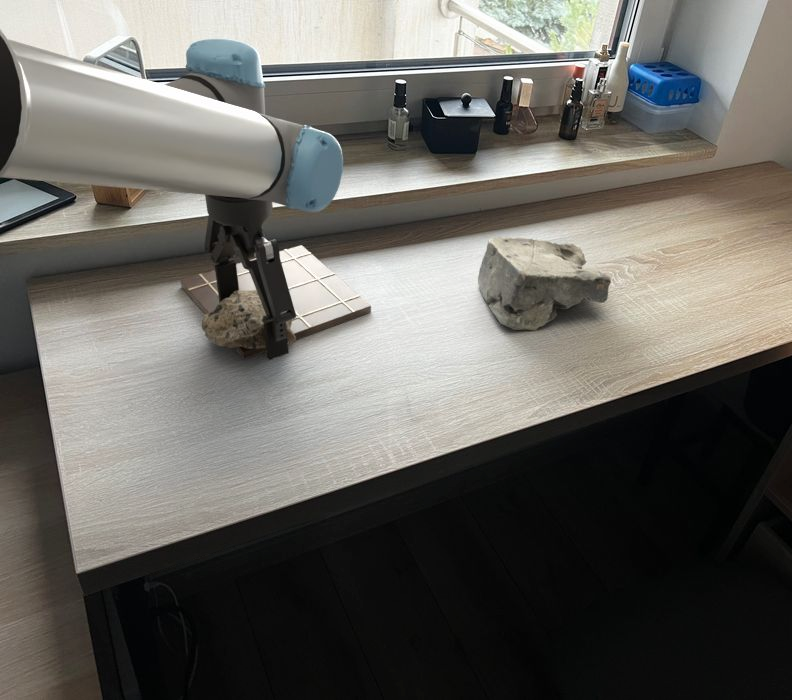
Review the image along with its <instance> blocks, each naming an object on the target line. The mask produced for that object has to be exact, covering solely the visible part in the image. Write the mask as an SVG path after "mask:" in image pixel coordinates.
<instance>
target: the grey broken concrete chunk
mask: <svg viewBox="0 0 792 700" xmlns="http://www.w3.org/2000/svg"><path fill="white" fill-rule="evenodd" d="M586 264H587V261H586V257H585V254H584V253H583V249H582V248H581V247H579V246H577V245H576V244H573V243H556V242H551V241H548V240H540V239H536V238H535V239H534V238H530V237H510V236H509V237H492V238H490V239H488V240H487V245H486V250H485V253H484V255H483V258H482V261H481V264H480V267H479V270H478V271H479V272H478V277H477V284H478V287H479V290H480V294H481V295H482V297H483V299H484V300H485V303H488V304H489V305H488V307H489V309H490V310H491V312H492V314H493V315H494V316H495V317H496V319H497V320H498V322H499V324H500V325H503V326H505V327H507V328H510V329H511V330H515V331H517V330H518V331H520V330H527V331H537V329H539V328H540V327H541V328H542V327H544V326H546V324H547V323H550V322H551V321H553V320H554V319H555V318H556V317H557V316H558V313H557V309H561V310H567V309H570V308H571V307H573V306H575V305H578V304H580V303H581V302H582V300H583V299H586V300H588V301H590V302H595V303H597V304H604V303H606V302H607V300H608V297H609V288H610V285H611V284H612V279H611V277H610V275H608V274H606V273H602V272H601V271H599V270H591V269H583V267H584V266H585V265H586Z"/></svg>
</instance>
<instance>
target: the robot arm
mask: <svg viewBox="0 0 792 700" xmlns="http://www.w3.org/2000/svg"><path fill="white" fill-rule="evenodd" d="M185 58H186V59H185V61H186V65H185V66H184V67H185V70H186V71H187V74H184V75H182V76H179V78H177V79H176V80H172V81H171V82H167V83H165V84H163V83H158V82H155V81H151V80H149V79H146V78H145V79H144V78H142V77H138V76H135V75H132V74H128V73H124V72H121V71H118V70H115V69H110V68H107V67H104V66H101V65H97V64H94V63H90V62H87V61H83V60H80V59H77V58H73V57H70V56H68V55H63V54H60V53H56V52H54V51H49V50H46V49H43V48H41V47H35V46H34V45H30V44H26V43H23V42H20V41H16V40H12V39H10V38H7V36H6V35H5V33H4V32H3V30H1V29H0V178H5V179H17V180H18V179H19V180H27V181H39V182H40V181H41V182H50V183H51V182H52V183H65V184H74V185H75V184H76V185H87V186H97V187H98V186H99V187H109V188H110V187H111V188H121V189H122V188H123V189H135V190H145V191H146V190H147V191H155V192H168V193H169V192H170V193H179V194H180V193H181V194H183V193H184V194H194V195H204V196H205V197H204V199H205V204H206V212H207V214H208V216H207V225H206V233H205V237H204V239H205V240H204V251H205V252H206V253H207V254H210V253H211V254H210V259H211V261H212V263H213V264H215V265H214V270H215V274H216V281H217V288H218V295H219V303H220V302H221V301H222V300H224V299H225V298H229V297H230V295H232V293H233V292H234V291H237V290H239V285H238V276H237V268H236V264H237V262H236V261H235V260H234V258H237V257H239V260H240V263H242V265H243V267H244V268H245V269H247V270H249V272H250V275H251V277H252V280H253V282H254V285H255V288H256V290H257V293H258V295H259V298H260V300H261V303H262V306H263V308H264V311H265V313H266V315H265V316H263V319H262V321H263V323H264V333H265V344H266V351H265V354H266V358H267V359H268V361H271V360H274V359H278V358H279V357H282V356H286V355H287V354H289V343H288V338H287V324H286V321H289V320H292V319H295V318H296V313H295V310H294V306H293V302H292V299H291V295H290V292H289V288H288V285H287V281H286V278H285V274H284V271H283V267H282V263H281V260H280V253H279V252H280V246H279V243H278V241H277V240H276V239H270V240H267V234H266V232H265V230H264V228H263V225H264V223H265V222H266V221H267V220H268V219H269V218H270V217H271V215H272V213H273V211H274V208H273V207H274V206H273V203H274V204H278V205H282V206H284V207H286V208H287V209H290V210H295V209H296V210H299V211H304V212H308V213H318V212H321V211H322V210H324V209H325V208H327V207H329V205H330V204H331V203H332V201H333V200H334V198H335V197H336V195H337V192H338V191H339V188H340V185H341V181H342V177H343V170H344V156H343V150H342V146H341V145H340V143H339V141H338V140H337V138H336V137H335V136H333V135H332V134H331V133H329V132H326V131H323V130H319V129H317V128H314V127H312V126H311V125H307V124H300V123H295V122H293V121H288V120H285V119H281V118H277V117H274V116H271V115H268V114H266V102H265V101H266V100H265V89H266V84H265V82H264V77H263V70H262V69H263V68H262V62H261V57H260V54H259V52H258V50H257V49H256V48H255V47H253V46H252V45H250V44H248V43H246V42H244V41H240V40H235V39H231V38H230V39H229V38H207V39H201V40H197V41H195V42H193V43H192V44H191V43H190V45H189V46H188V48H187V50H186V53H185ZM236 253H237V254H236ZM237 255H238V256H237ZM231 259H232V260H231ZM252 259H255V260H252ZM250 260H252V261H250Z"/></svg>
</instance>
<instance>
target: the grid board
mask: <svg viewBox="0 0 792 700" xmlns="http://www.w3.org/2000/svg"><path fill="white" fill-rule="evenodd" d="M279 253H280V260H281V263H282V267H283V271H284V274H285V278H286V281H287V285H288V288H289V292H290V295H291V299H292V302H293V306H294V310H295V313H296V318H295V319H292V324H291V327H290V329H291V331H292V333H293V334H294V336H295V337H296V340H295V341H297V340H300V339H302V338H306V337H308V336H311V335H313V334H316V333H319V332H321V331H322V332H323V331H325V330H326V329H330V328H332V327H335V326H337V325H341V324H343V323H346V322H349V321H351V320H354V319H357V318H359V317H362V316H365V315H368V314H370V313H371V312H372V305H371V304H370V303H368V302H367V301H366V300H365V299H364V298H363V297H362V296H361V295H360V294H358V293H357V292H356V291H355V290H354V289H353V288H351V286H349V285H348V284H347V283H346V282H344V281H343V280H342V279H341V278H340V277H339V276H338V275H337V274H336V273H335V272H333V271H332V270H331V269H330V268H329V267H327V265H325V264H324V263H323V262H322V261H321V260H319V259H318V258H317V257H316V256H315V255H314V254H313V253H312V252H310V251H309V250H308V249H307V248H306V247H305V246H303V245H302V244H300V245H297V246H293V247H290V248H285V249H283V250H279ZM255 259H256V258H251V259H249V260H250V261H252V260H255ZM236 268H237V276H238V285H239V290H245V291H250V290H256V288H255V285H254V282H253V280H252V277H251V275H250V272H249V270H247V269H245V268H244V267H243V265H242V263H241V262H238V263H236ZM179 282H180V287H181V288H182V289H183V291H184V292H185V293H186V294H187V296H189V297H190V299H191V300H192V301H193V302H194V303H195V304H196V306H198V308H199V309H200V310H201V311H202V313H203V314H204V315H205V314H208V313H211V312H213V311H214V310H215V309H216V307H217V304H218V303H219V295H218V288H217V281H216V274H215V269H214V270H211V271H207V272H203V273H199V274H197V275H193V276H191V277H187V278H183V279H180V281H179ZM233 348H234V349H235V351H236V352H237V353H238V354H239V355H240V356H241V357H242V359H243V360H245V359H246V360H247V359H248V358H249V359H250V358H251V357H254V356H256V355H260V354H262V353H264V352H265V353H266V348H258V349H256V348H252V349H247V348H244V347H233Z"/></svg>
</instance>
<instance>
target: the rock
mask: <svg viewBox="0 0 792 700" xmlns="http://www.w3.org/2000/svg"><path fill="white" fill-rule="evenodd" d="M265 315H266V313H265V311H264V308H263V306H262V303H261V300H260V298H259V295H258V293H257V290H250V291H245V290H237V291H234V292H233V293H232V295H230V297H229V298H225V299H224V300H222V301H221V302H220V303H218V304H217V307H216V309H215V310H214V311H213V312H211V313H208V314H205V313H204V316H203V317H204V318H203V319H202V320H201V329H202V330H203V332H204V335H205V337H206V338H208V339H209V340H211V342H212V343H213V344H215V345H217V346H218V347H223V348H224V347H225V348H229V349H232V348H234V347H244V348H247V349H252V348H256V349H258V348H266V344H265V333H264V323H263V321H262V319H263V316H265ZM286 324H287V338H288V344H291V343H294V342H295V341H297V340H296V337H295V336H294V334H293V333H292V331H291V329H290V327H291V324H292V320H289V321H286Z"/></svg>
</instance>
